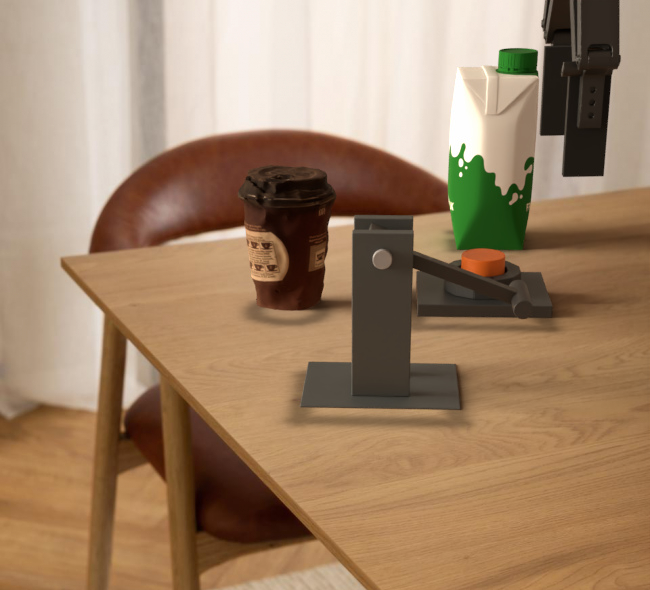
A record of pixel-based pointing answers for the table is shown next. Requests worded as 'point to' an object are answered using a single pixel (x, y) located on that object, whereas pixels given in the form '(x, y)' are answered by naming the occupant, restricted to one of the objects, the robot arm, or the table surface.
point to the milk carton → (493, 151)
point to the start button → (483, 262)
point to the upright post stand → (381, 332)
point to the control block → (478, 296)
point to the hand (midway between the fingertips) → (569, 154)
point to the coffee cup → (287, 234)
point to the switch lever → (475, 281)
